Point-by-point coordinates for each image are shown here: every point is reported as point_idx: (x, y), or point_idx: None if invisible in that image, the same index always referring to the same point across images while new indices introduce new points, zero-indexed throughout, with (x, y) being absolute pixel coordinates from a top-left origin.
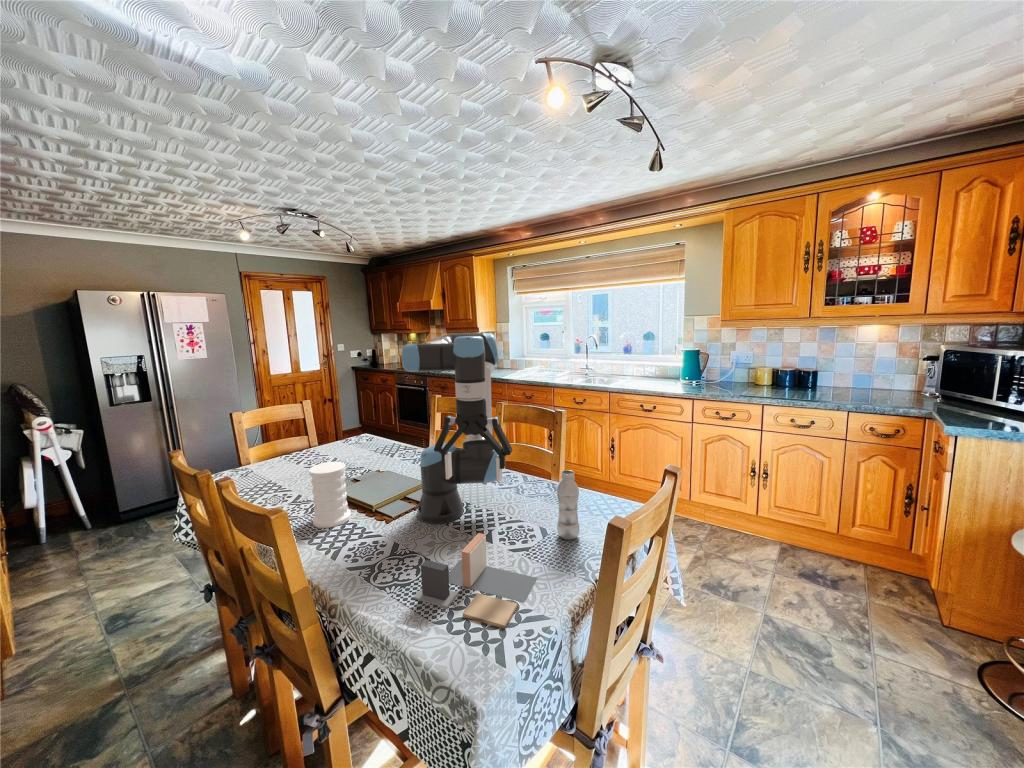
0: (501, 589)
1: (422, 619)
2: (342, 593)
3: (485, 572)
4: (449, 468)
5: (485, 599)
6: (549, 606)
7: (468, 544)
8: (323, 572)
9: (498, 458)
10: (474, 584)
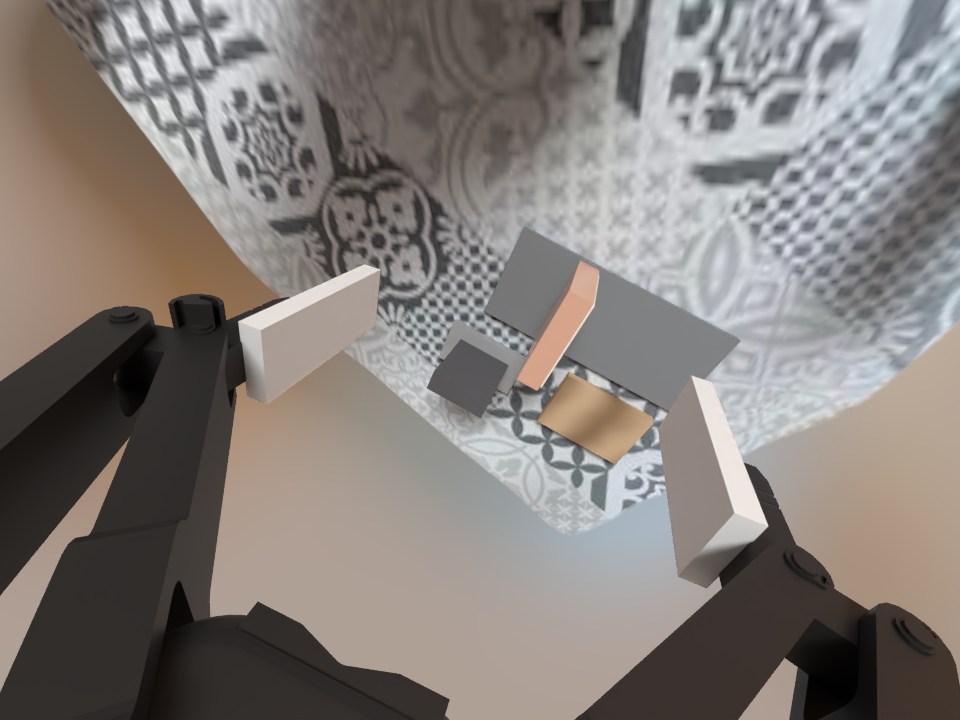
0: (626, 365)
1: None
2: None
3: None
4: (342, 328)
5: (584, 398)
6: (729, 426)
7: (535, 351)
8: (237, 235)
9: (700, 578)
10: None
